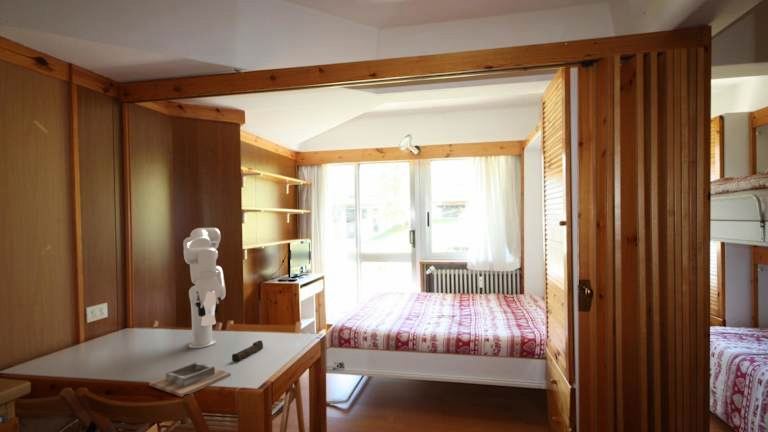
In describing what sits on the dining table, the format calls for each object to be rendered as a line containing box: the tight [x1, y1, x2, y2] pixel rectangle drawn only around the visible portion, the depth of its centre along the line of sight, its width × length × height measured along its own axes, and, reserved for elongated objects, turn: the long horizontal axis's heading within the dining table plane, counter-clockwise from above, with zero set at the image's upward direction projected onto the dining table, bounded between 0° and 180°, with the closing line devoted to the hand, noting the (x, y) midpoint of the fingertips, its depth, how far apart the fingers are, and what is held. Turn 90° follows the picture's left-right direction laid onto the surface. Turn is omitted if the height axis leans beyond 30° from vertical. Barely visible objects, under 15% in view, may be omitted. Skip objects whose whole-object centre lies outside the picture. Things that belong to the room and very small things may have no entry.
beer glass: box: [200, 291, 217, 326], centre depth 163 cm, size 7×7×15 cm
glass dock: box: [149, 361, 231, 398], centre depth 143 cm, size 22×20×4 cm
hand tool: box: [231, 339, 264, 363], centre depth 170 cm, size 19×4×5 cm, turn 157°
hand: (208, 314), depth 163 cm, fingers closed on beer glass, 6 cm apart
